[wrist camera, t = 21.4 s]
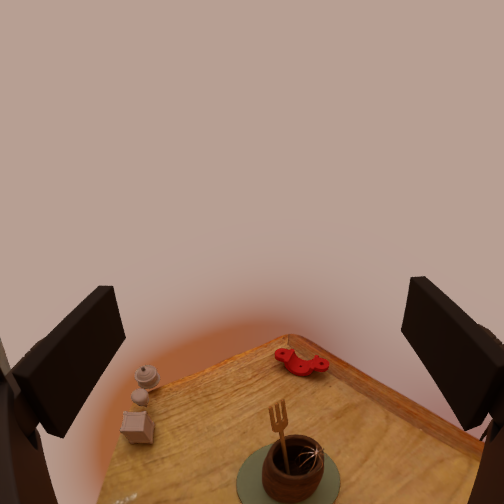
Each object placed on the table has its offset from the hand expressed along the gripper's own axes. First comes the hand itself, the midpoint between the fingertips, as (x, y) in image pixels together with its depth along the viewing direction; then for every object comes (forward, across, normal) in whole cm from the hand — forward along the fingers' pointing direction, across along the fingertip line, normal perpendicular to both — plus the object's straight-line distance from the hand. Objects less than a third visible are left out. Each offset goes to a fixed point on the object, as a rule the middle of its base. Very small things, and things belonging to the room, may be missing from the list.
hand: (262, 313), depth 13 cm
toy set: (+14, -16, -20) cm, 29 cm away
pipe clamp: (+23, +5, -21) cm, 31 cm away
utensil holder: (+5, +2, -25) cm, 25 cm away
